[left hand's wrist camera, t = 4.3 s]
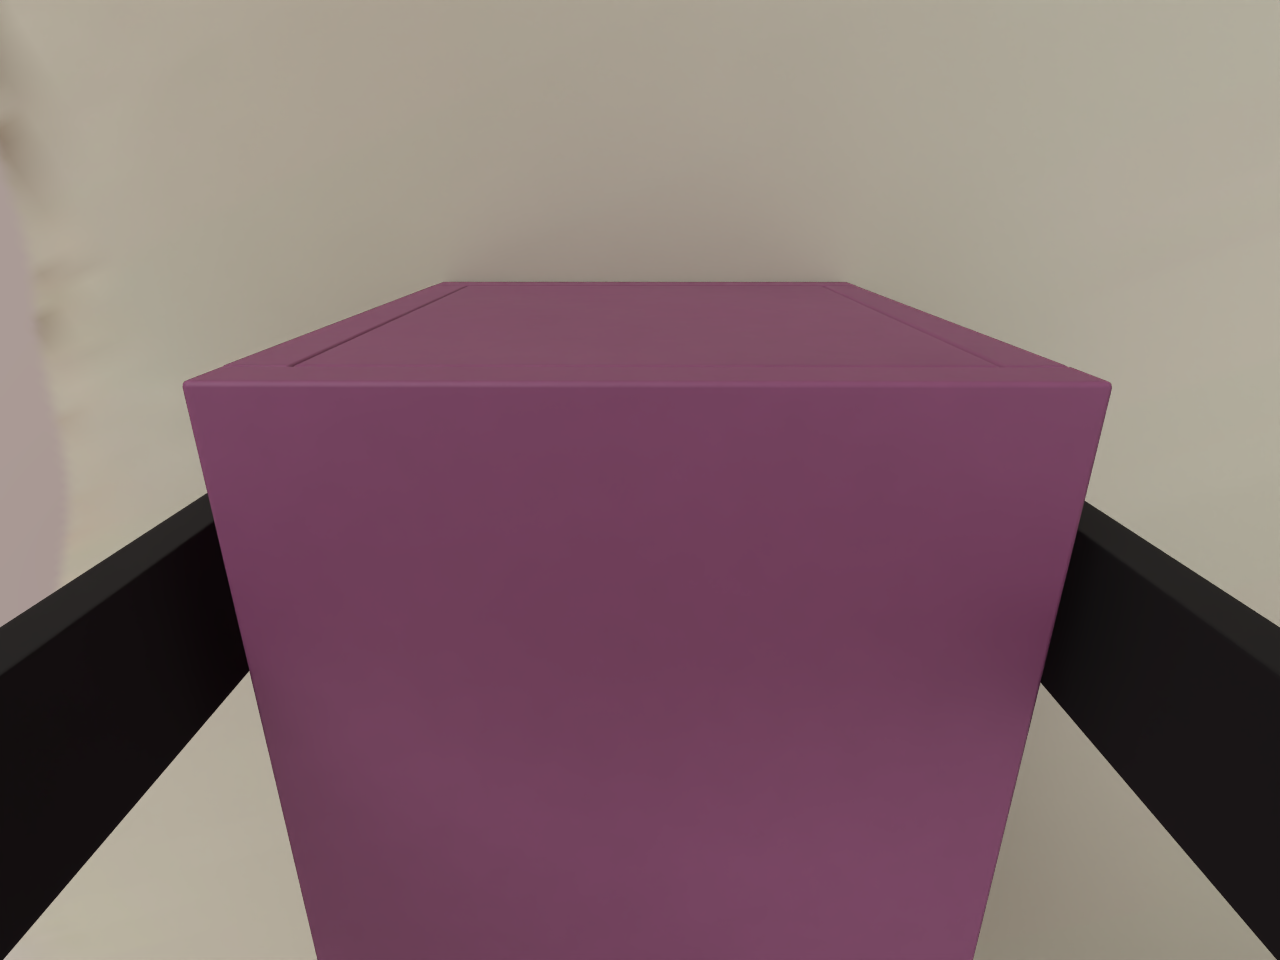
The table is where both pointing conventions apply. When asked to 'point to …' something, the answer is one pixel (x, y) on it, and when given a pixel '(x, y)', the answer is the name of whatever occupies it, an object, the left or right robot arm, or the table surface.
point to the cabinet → (646, 614)
